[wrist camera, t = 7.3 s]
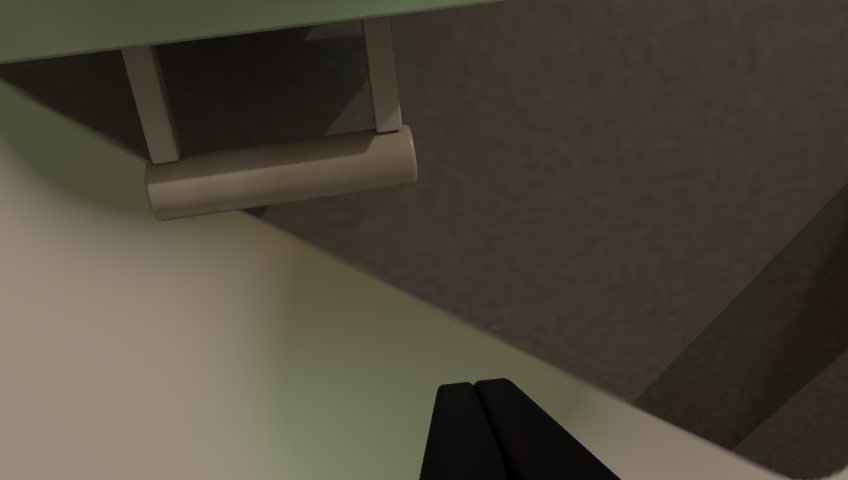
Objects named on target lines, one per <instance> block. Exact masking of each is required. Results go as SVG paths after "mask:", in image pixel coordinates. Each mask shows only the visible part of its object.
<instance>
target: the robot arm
mask: <svg viewBox="0 0 848 480" xmlns="http://www.w3.org/2000/svg"><path fill="white" fill-rule="evenodd" d="M419 480H621V479H620V478H619V477H617V476H616V475H615V474H614V473H613V472H612V471H611V470H610V469H608V468H607V467H606V466H605V465H604V464H603V463H602V462H601V461H600V460H598V459H597V458H596V457H595V456H594V455H592V453H591V452H590V451H588V450H587V449H586V448H585V447H584V446H583V445H582V444H580V443H579V442H578V441H577V440H576V439H575V438H574V437H573V436H572V435H571V434H569V433H568V432H567V431H566V430H565V429H564V428H563V427H562V426H560V425H559V424H558V423H557V422H556V421H555V420H554V419H553V418H552V417H550V416H549V415H548V414H547V413H546V412H545V411H544V410H542V408H540V407H539V406H538V405H537V404H536V403H535V402H534V401H533V400H531V399H530V398H529V397H528V396H527V395H526V394H525V393H524V392H523V391H521V390H520V389H519V388H518V387H517V386H516V385H515V384H514V383H512V382H511V381H510V380H508V379H505V378H499V379H490V380H481V381H477V382H476V383H475V384H474V385H472V384H471V383H469V382H464V383H455V384H445V385H441V386H440V387H439V388H438V391H437V395H436V400H435V405H434V410H433V414H432V419H431V424H430V429H429V434H428V439H427V444H426V449H425V454H424V458H423V463H422V468H421V474H420V478H419Z"/></svg>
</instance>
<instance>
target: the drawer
mask: <svg viewBox="0 0 848 480" xmlns="http://www.w3.org/2000/svg"><path fill="white" fill-rule="evenodd" d="M503 1H505V0H0V64H8V63H16V62H24V61H32V60H40V59H48V58H56V57H64V56H72V55H80V54H88V53H96V52H104V51H112V50H121V52H122V55H123V59H124V63H125V66H126V70H127V74H128V77H129V81H130V84H131V88H132V92H133V95H134V99H135V102H136V106H137V110H138V113H139V117H140V121H141V124H142V128H143V131H144V135H145V139H146V142H147V146H148V150H149V153H150V157H151V160H150V161H149V162H147V164H146V169H145V185H146V192H147V197H148V201H149V204H150V207H151V209H152V212H153V214H154V215H155V217H156V218H157V219H158V220H161V221H165V220H172V219H179V218H185V217H193V216H198V215H206V214H213V213H220V212H226V211H233V210H240V209H247V208H254V207H260V206H267V205H274V204H281V203H287V202H294V201H301V200H308V199H315V198H321V197H328V196H335V195H342V194H348V193H355V192H362V191H369V190H376V189H382V188H389V187H396V186H403V185H409V184H414V183H416V181H417V162H416V154H415V147H414V142H413V137H412V133H411V130H410V128H409V126H408V125H402V120H401V111H400V102H399V93H398V84H397V74H396V65H395V56H394V47H393V38H392V29H391V20H390V16H393V15H401V14H409V13H417V12H425V11H433V10H441V9H449V8H457V7H465V6H473V5H481V4H489V3H497V2H503ZM353 20H361V24H362V32H363V40H364V48H365V56H366V64H367V71H368V79H369V87H370V95H371V103H372V111H373V119H374V125H375V128H376V129H370V130H363V131H356V132H349V133H342V134H334V135H327V136H320V137H313V138H306V139H299V140H291V141H284V142H277V143H270V144H263V145H256V146H248V147H241V148H234V149H227V150H220V151H213V152H205V153H198V154H191V155H184V156H181V154H182V149H181V145H180V141H179V137H178V133H177V129H176V125H175V121H174V117H173V113H172V109H171V106H170V102H169V98H168V94H167V90H166V86H165V82H164V78H163V74H162V70H161V66H160V62H159V58H158V54H157V51H156V47H155V45H161V44H169V43H177V42H185V41H193V40H201V39H209V38H217V37H225V36H233V35H241V34H249V33H257V32H265V31H273V30H281V29H289V28H297V27H305V26H313V25H321V24H329V23H337V22H345V21H353Z"/></svg>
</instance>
